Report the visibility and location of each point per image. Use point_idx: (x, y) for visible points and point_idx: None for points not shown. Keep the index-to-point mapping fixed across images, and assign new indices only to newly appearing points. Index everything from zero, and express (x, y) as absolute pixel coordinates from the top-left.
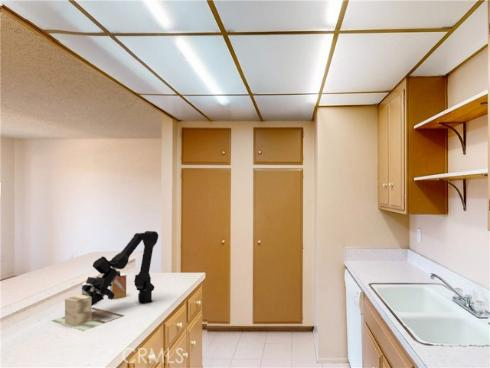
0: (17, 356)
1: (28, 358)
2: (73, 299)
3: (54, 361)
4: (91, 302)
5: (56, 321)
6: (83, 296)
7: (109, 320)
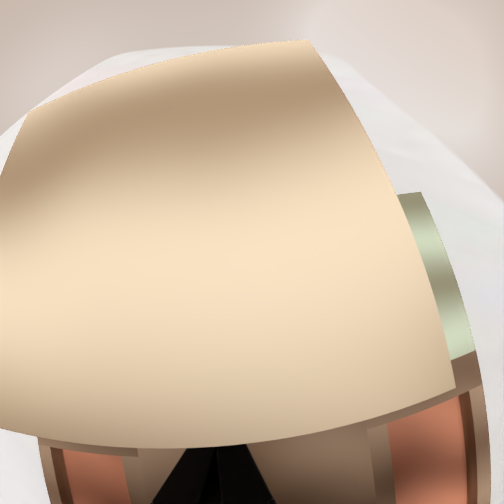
0: (121, 67)
1: (80, 87)
2: (118, 97)
3: (6, 135)
4: (169, 494)
5: None
6: (103, 323)
7: (54, 474)
